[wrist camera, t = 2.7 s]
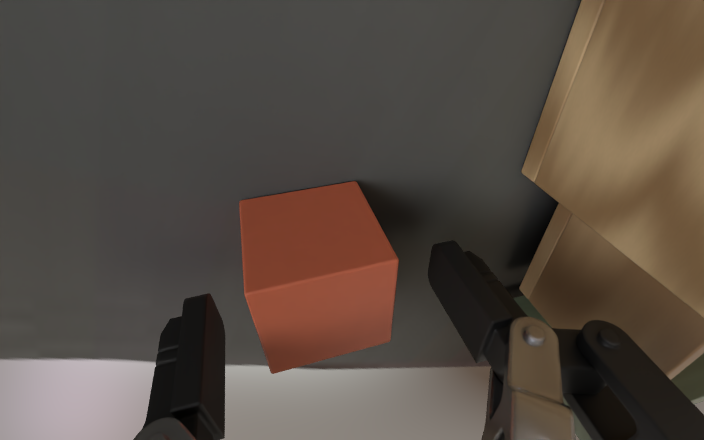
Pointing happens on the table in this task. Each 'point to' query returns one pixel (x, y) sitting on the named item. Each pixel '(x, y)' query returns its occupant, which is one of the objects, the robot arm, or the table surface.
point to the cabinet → (632, 135)
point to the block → (316, 274)
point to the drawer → (612, 301)
